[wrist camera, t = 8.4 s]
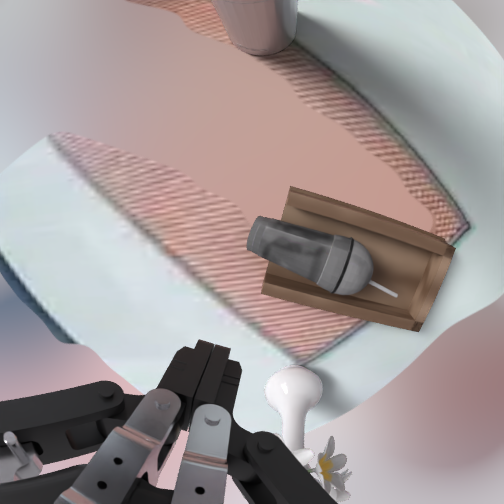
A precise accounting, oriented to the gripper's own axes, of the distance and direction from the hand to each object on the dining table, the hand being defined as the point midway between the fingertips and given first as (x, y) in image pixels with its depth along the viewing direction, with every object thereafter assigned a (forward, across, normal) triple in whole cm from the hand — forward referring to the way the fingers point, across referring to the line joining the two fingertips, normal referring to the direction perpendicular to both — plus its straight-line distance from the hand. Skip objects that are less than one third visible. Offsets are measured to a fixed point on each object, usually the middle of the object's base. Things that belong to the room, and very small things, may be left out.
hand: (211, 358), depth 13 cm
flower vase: (+27, -12, +23) cm, 38 cm away
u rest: (+27, -14, +1) cm, 31 cm away
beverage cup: (+25, +1, 0) cm, 25 cm away
